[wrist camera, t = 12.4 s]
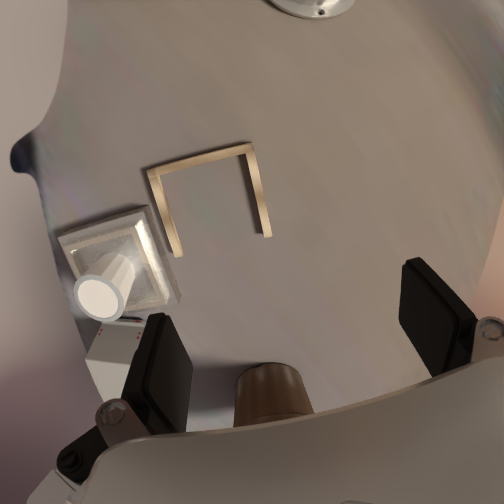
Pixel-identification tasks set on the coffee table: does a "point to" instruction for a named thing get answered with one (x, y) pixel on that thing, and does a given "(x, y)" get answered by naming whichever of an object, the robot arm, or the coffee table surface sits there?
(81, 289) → the white cup
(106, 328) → the toy vehicle
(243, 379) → the plant pot
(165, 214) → the cradle
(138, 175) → the coffee table surface
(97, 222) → the plate
